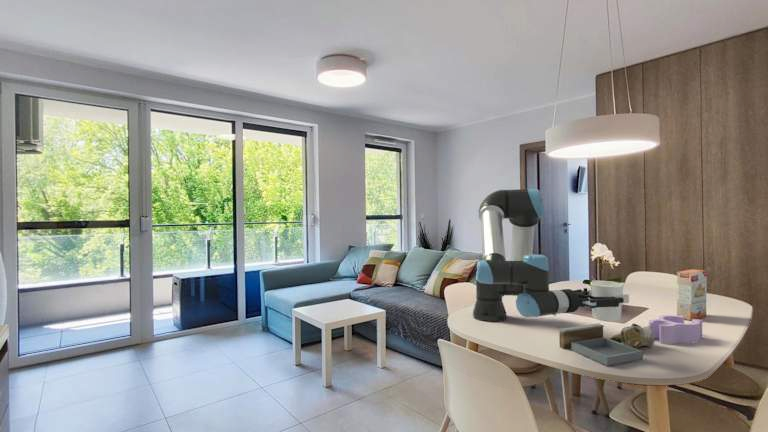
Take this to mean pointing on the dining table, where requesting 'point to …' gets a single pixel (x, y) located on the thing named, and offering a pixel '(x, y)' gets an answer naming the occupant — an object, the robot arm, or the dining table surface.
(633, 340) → the ceramic sculpture
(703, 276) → the cracker box
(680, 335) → the clip
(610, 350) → the blue gray square tray
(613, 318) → the white cup
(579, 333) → the board
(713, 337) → the dining table surface
